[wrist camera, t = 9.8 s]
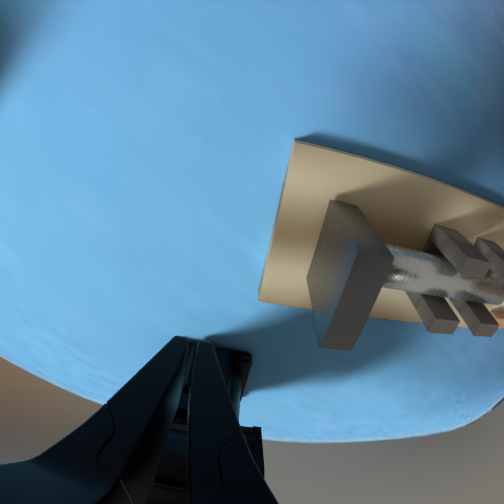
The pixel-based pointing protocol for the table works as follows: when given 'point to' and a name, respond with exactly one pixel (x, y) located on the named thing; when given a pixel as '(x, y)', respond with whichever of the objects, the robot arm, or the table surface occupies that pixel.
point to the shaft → (376, 276)
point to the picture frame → (498, 314)
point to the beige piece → (384, 233)
